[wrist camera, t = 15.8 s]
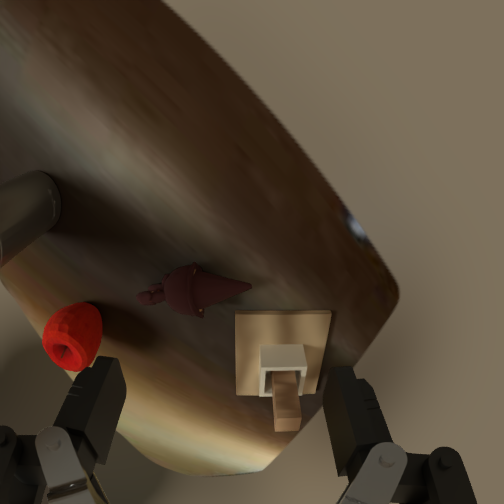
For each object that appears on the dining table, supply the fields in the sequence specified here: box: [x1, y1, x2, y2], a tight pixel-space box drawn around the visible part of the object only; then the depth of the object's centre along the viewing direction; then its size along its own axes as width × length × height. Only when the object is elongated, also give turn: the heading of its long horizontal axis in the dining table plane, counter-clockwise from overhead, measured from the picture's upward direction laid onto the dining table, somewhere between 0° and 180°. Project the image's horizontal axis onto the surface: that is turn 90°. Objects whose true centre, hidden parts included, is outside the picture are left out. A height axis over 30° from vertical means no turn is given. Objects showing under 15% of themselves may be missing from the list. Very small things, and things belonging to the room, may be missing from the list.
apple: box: [42, 302, 103, 372], centre depth 42 cm, size 9×9×11 cm
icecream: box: [136, 261, 252, 319], centre depth 41 cm, size 7×7×15 cm
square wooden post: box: [271, 370, 302, 431], centre depth 43 cm, size 3×3×12 cm
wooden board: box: [235, 310, 332, 395], centre depth 50 cm, size 14×18×1 cm
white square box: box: [259, 344, 307, 396], centre depth 47 cm, size 7×7×5 cm
